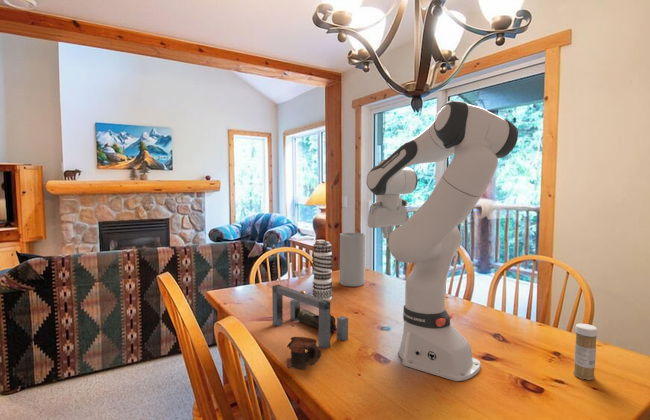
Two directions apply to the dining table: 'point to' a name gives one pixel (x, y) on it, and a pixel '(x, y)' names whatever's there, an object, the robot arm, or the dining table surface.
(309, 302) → the grey arch frame
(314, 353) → the pottery mug
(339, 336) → the guide posts
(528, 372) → the dining table surface
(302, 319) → the dark elongated lumpy piece
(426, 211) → the robot arm
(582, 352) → the sprinkles bottle
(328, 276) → the decorative candle
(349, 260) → the cylinder vase
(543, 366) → the dining table surface
